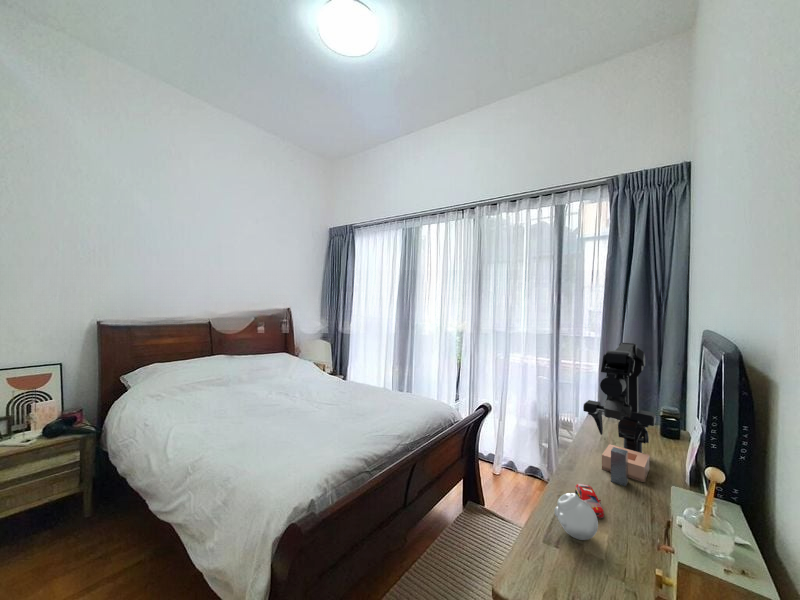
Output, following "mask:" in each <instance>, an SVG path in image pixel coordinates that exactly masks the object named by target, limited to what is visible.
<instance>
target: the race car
mask: <svg viewBox="0 0 800 600" xmlns="http://www.w3.org/2000/svg"><path fill="white" fill-rule="evenodd" d="M574 493H575V494H577V495H578V497H579V498H580V499H581V500H583V501H585V502H586V503H588V504H589V505H590V506H591V508H592V509H593V510H594V512H595V514H596V516H597V519H603V518H604V517H605V511H604V509H603V508H604V507H602V504H601V502H602V500H601V499H599V498H598V496H597V494H596V492H595V490H594V489H593V487H592V486H590V485H589V484H583V483H577V484H576V485H575V491H574Z"/></svg>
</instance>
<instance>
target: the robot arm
mask: <svg viewBox="0 0 800 600" xmlns="http://www.w3.org/2000/svg"><path fill="white" fill-rule="evenodd" d="M644 367H646V356H645V352H644V351H643V350H642V349H640V348H638V345H637V344H636V343H635V342H634V343H633V342H619V345H618V346H617V347H616V349H612V350H611V349H609V350H608V349H607V351H606V352H605V353H603V356H602V363H601V370H600V372H601V373H603V374H605V375H606V376H605V378H603V379H602V380H601V382H600V384H599V385H600V389H601V392H602V393H603V394H604V395H606V400H605V403H604V405H602V404H601V401H595V400H590V399H588V400H587V401H586V402H584V403H583V409H582V410H583V412H586V413H587V414H588V415H589V416H591V417H592V418H593V420H594V422H595V424H596V426H597V429H598V432H599V434H600V435H601V436H602V435H603V432H604V428H603V416H605V418H609V419H610V418H611V419H615V420H617V421H618V423H617V433H618V438H621V439H623V448H625V449H629V450H633V451H636V452H640V453H643V444H644V445H646V444H649V432H648V430H647V428H649V427H655V424H656V422H657V419H656V418H657V416H656V413H655V412H653V411H649V410H648V411H647V410H642V409H640V407H639V376H640V375H641V373H642V372H643V371H644ZM603 413H604V415H603Z"/></svg>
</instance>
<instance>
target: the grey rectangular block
mask: <svg viewBox="0 0 800 600" xmlns="http://www.w3.org/2000/svg"><path fill="white" fill-rule="evenodd" d="M610 482H612V483H614V484H617V485H620V486H623V487H627V484H628V483H629V478H628V451H626V450H623V449H619V448H615V447H613V448H612V450H611V472H610Z"/></svg>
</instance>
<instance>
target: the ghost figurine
mask: <svg viewBox="0 0 800 600" xmlns="http://www.w3.org/2000/svg"><path fill="white" fill-rule="evenodd" d="M556 502H557V506H555V507H554V509H553V510H554V515H555V517H556V518H557V519H558V522H559V524H560V525H561V527H562V529H563V530H564V532H566V533H567V534H568V535H569V536H570V537H572V538H574V539H577V540H580V541H588V540H590V539H592V538H593V537H595V535H596V534H597V532H598V529H599V528H598V527H599V522H598V518H597V516H596V514H595V512H594V510H593V509H592V508H591V506H590V505H589V504H588V503H586V502H585V501H583V500H581V499H580V498H579V497H578V495H577V494H576V493H575V492H567V493H564V494H562V495H561V496H560V497H559V498H558V499H557V501H556Z"/></svg>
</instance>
